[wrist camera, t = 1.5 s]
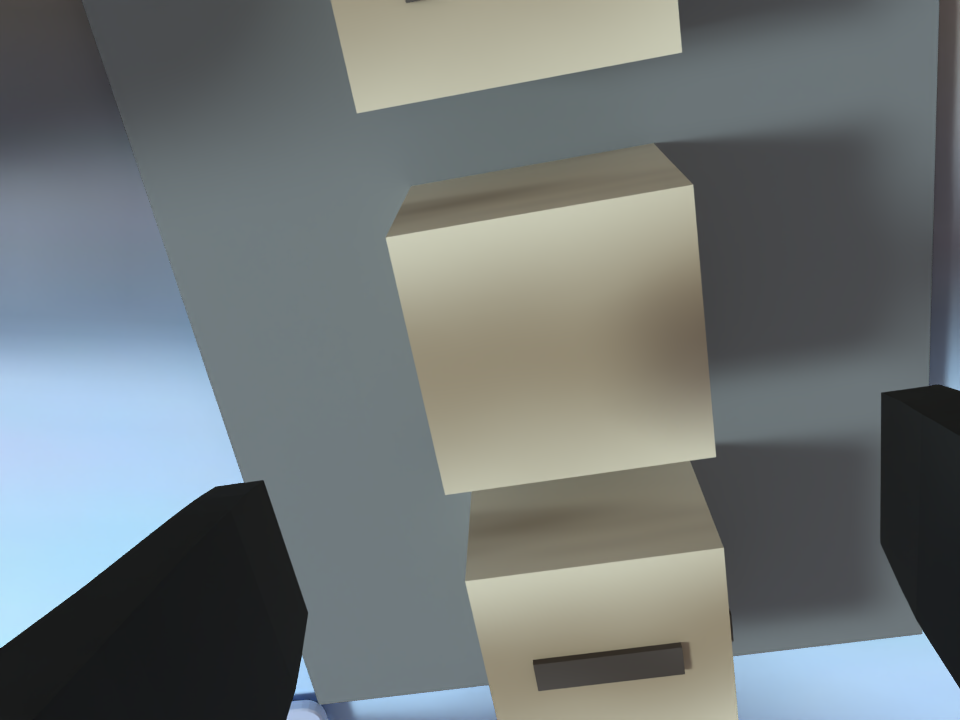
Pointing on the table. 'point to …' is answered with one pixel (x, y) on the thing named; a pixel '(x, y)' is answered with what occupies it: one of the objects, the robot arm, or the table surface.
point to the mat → (521, 142)
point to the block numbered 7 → (490, 43)
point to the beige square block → (602, 598)
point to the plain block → (556, 318)
